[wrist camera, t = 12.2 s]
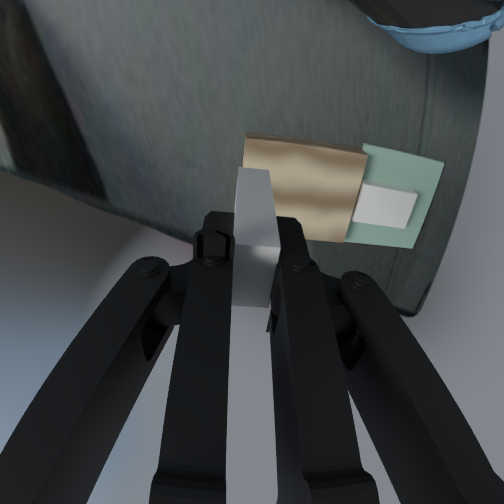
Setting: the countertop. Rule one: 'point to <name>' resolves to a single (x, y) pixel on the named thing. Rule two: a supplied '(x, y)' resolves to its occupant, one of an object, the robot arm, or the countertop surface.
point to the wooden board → (310, 181)
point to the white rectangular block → (383, 204)
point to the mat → (405, 175)
